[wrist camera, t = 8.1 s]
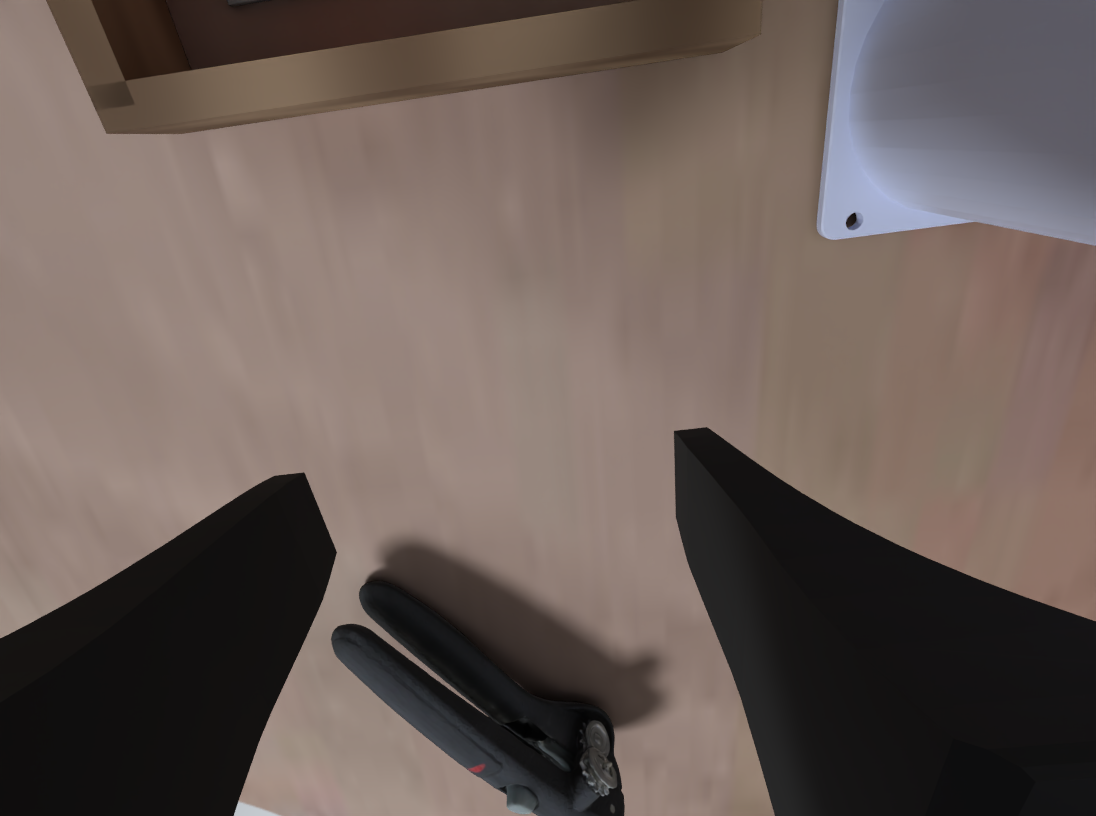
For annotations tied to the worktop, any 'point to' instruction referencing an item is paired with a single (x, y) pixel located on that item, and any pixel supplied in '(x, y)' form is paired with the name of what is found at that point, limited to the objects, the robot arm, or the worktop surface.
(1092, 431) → the worktop surface
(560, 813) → the can opener
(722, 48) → the arena
